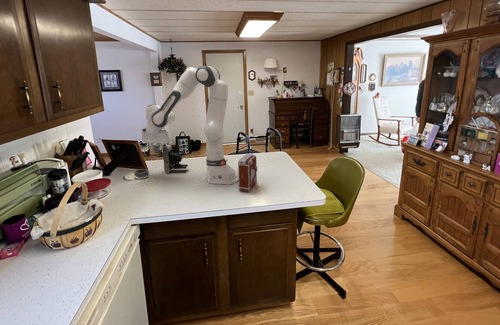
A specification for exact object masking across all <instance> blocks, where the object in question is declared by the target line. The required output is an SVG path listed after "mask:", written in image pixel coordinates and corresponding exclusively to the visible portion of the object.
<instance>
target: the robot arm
mask: <svg viewBox="0 0 500 325" xmlns="http://www.w3.org/2000/svg"><path fill="white" fill-rule="evenodd" d="M199 84H201V85H202V86H204V87H206V88H209V99H208V104H207V112H206V117H205V123H204V129H203V132H204V135H205V138H206V145H205V146H206V150H205V151H206V160H205V161H206V162H205V163H206V175H205V180H206V182H207V183H208V184H211V185H212V184H215V185H217V184H218V185H230V186H231V185H233V184H235V183H237V182H239V176H238V175H237V173H236V171H235V169H234V168H233V167H231V166H230V165H229V164H228V163H227V162H228V159H226V158H225V155H224V154H225V153H224V152H225V151H224V124H225V123H224V121H225V116H226V111H227V104H228V103H227V102H228V95H229V88H228V87H229V86H228V84H227V82H226V81H224V80H221V74H220V72H219V70H218V69H217V68H215V67H213V66H209V65H201V66H198V68H196V67H193V66H190V67H188V68H186V70H185V71H184V72H183V73H182V75H181V76H180V77H179V79H178V81H177V83H176V84H175V85H174V87H173V89H172V90H171V92H170V94H169V95H168V96H167V98H166V99H165V101H164V102H163V104H162V105H161V106H160V105H159V104H157V103H155V104H154V103H153V104H149V105H147V106H146V108H145V119H146V121H147V122H146V127H143V128H141V139H142V141H143V143H148V144H149V146H150V148H151V150H153V145H154V144H159V145H160V147H159V150H161V151H163V148H164V145H168V144H170V141H171V140H170V137H169V133H168V132H169V131H167V130H166V129H162V128H164V127H166V126H168V125H170V124H172V123H173V122H174V121H175V118H176V117H175V114H174V112H173V109H174V108H175V107H176V105H178V104H179V103H180V102H182V101H184V100H186V99H188V98H189V97H190V96H191V95H192V94H193V93H194V92H195V90H196V88H197V87H198V85H199Z"/></svg>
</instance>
